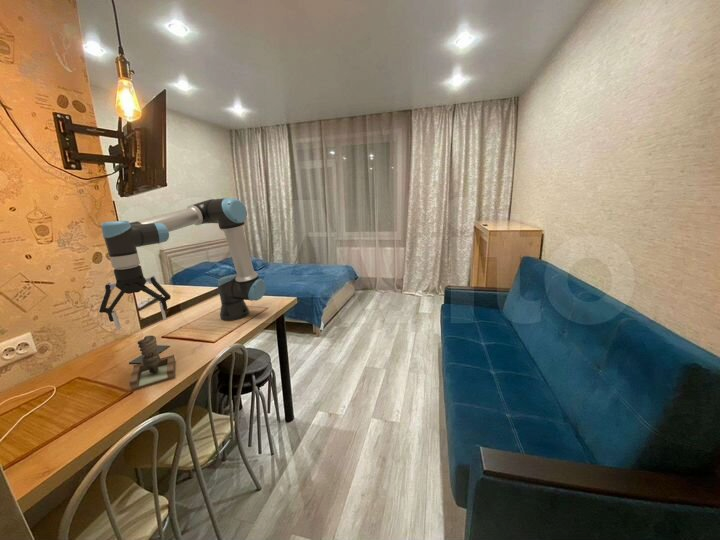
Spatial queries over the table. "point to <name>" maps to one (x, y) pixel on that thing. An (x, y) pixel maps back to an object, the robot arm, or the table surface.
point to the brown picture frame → (152, 374)
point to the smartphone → (139, 359)
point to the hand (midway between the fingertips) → (142, 323)
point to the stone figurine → (149, 353)
